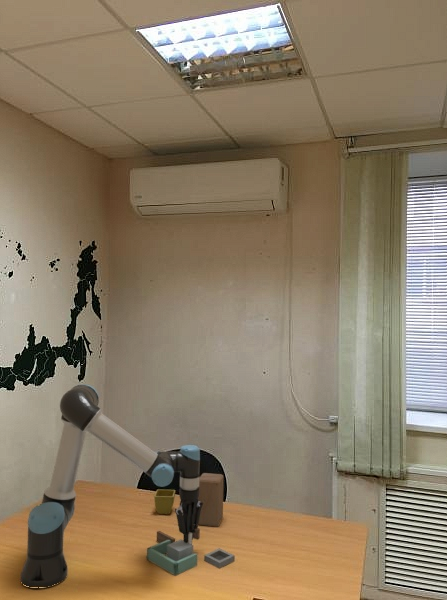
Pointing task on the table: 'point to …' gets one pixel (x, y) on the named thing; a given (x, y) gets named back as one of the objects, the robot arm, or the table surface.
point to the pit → (219, 558)
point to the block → (179, 550)
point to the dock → (168, 564)
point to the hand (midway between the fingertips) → (188, 549)
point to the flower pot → (164, 501)
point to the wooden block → (211, 499)
